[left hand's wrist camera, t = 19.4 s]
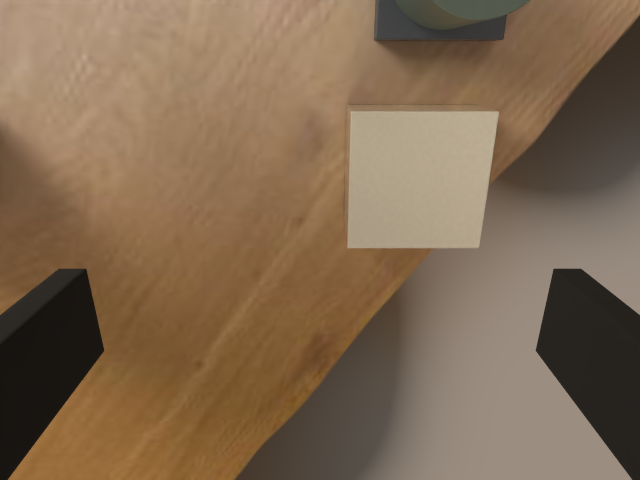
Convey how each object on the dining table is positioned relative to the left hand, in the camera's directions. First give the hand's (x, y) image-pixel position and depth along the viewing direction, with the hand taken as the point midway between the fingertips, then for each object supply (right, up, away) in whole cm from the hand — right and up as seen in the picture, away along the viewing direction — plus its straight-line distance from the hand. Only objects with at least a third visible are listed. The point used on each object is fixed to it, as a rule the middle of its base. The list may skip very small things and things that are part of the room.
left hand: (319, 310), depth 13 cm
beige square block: (+7, +8, +23) cm, 26 cm away
